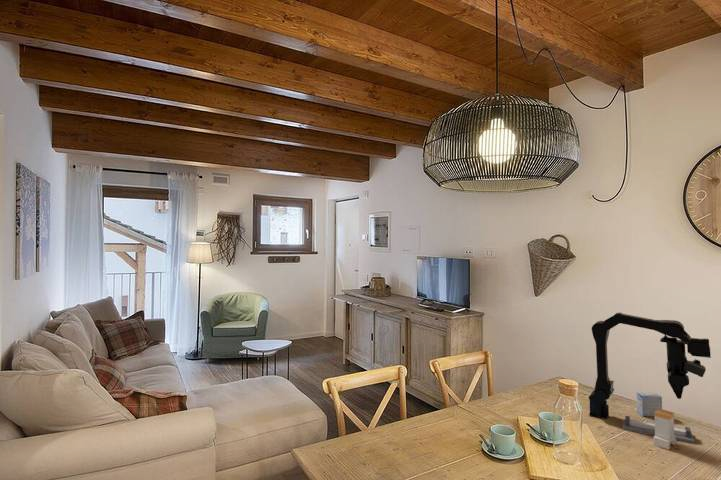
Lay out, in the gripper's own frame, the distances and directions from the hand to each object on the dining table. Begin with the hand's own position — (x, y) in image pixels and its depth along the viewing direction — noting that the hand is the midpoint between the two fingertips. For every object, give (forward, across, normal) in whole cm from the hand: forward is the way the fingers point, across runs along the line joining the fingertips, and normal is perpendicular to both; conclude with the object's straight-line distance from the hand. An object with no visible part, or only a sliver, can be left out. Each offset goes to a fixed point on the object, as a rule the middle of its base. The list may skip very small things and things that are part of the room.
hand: (678, 394), depth 159 cm
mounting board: (+14, -5, +8) cm, 17 cm away
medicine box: (+15, +13, +10) cm, 22 cm away
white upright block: (+14, -15, +5) cm, 21 cm away
